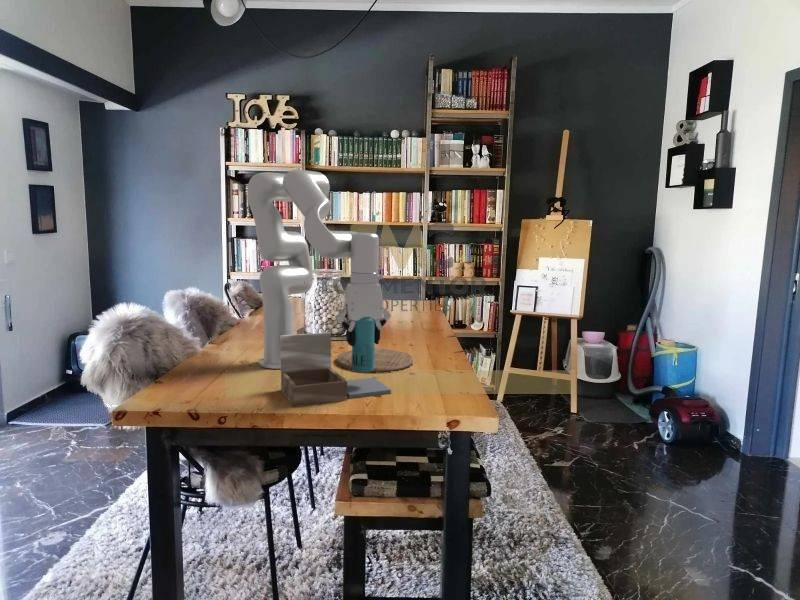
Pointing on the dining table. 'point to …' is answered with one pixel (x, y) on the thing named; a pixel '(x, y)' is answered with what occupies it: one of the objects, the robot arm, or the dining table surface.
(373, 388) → the slate mat
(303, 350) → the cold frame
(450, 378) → the dining table surface
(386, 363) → the trivet
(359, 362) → the beverage bottle
